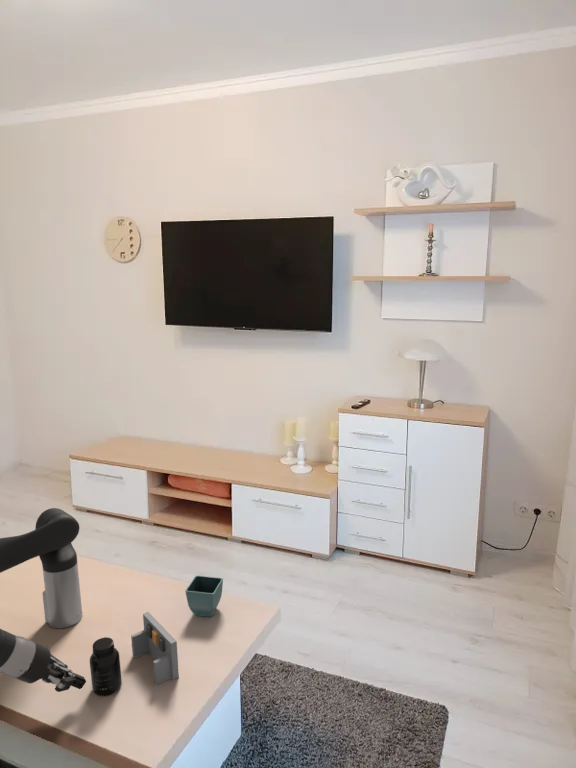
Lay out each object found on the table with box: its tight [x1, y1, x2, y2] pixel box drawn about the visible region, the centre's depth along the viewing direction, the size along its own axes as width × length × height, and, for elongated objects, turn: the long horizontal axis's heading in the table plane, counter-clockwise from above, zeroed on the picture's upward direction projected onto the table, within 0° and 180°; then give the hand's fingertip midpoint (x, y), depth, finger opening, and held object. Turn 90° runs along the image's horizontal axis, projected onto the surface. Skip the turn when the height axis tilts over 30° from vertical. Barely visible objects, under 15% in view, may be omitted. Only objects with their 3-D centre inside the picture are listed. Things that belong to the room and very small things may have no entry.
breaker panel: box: [130, 611, 180, 686], centre depth 144 cm, size 6×16×10 cm, turn 38°
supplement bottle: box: [89, 636, 123, 697], centre depth 136 cm, size 7×7×12 cm
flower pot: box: [185, 575, 224, 618], centre depth 166 cm, size 9×9×9 cm
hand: (82, 683), depth 132 cm, fingers closed
